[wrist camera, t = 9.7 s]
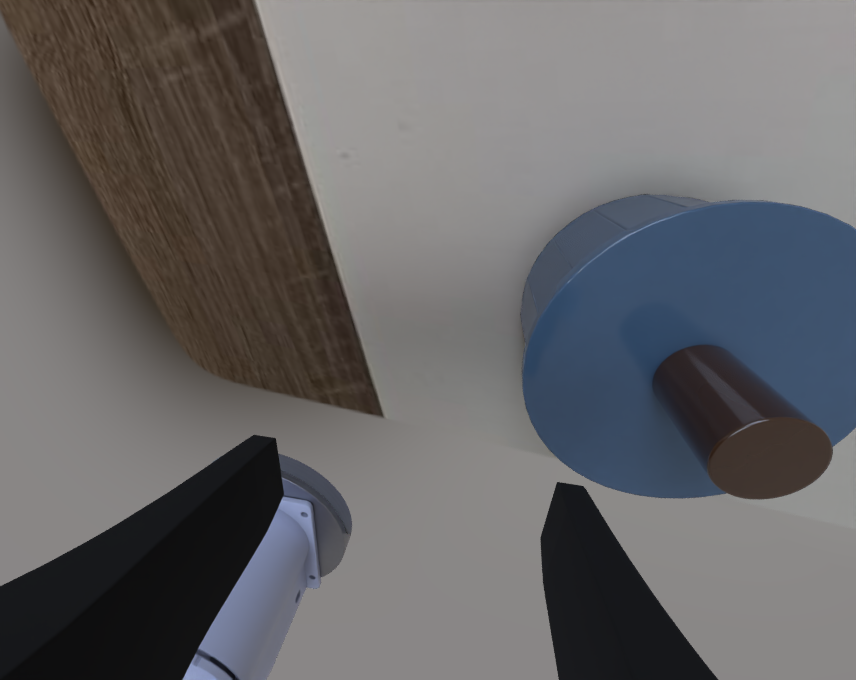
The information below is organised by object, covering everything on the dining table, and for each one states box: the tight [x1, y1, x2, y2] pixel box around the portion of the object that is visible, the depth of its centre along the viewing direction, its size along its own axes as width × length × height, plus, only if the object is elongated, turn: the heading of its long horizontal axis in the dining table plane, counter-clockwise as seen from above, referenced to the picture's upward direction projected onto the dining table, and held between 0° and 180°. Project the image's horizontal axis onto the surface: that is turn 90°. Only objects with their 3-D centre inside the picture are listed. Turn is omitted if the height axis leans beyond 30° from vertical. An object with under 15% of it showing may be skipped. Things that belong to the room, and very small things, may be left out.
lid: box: [522, 200, 856, 499], centre depth 11 cm, size 10×10×5 cm
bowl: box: [520, 194, 710, 345], centre depth 15 cm, size 9×9×6 cm
